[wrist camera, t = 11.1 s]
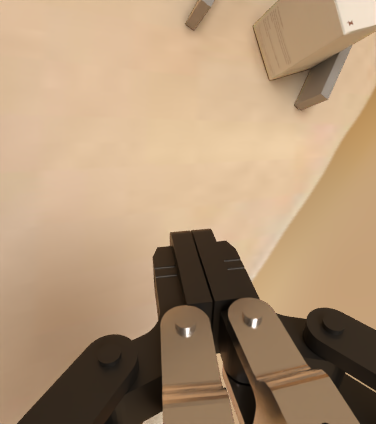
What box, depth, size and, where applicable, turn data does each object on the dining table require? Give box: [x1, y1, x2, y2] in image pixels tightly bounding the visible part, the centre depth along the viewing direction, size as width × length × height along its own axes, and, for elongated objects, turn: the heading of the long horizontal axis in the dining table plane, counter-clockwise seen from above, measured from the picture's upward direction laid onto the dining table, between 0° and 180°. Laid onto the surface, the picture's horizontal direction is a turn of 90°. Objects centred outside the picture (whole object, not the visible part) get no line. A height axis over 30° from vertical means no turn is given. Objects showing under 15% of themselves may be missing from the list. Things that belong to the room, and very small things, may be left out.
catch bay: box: [185, 0, 352, 110], centre depth 41 cm, size 15×18×5 cm
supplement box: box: [253, 0, 376, 80], centre depth 38 cm, size 7×7×13 cm
